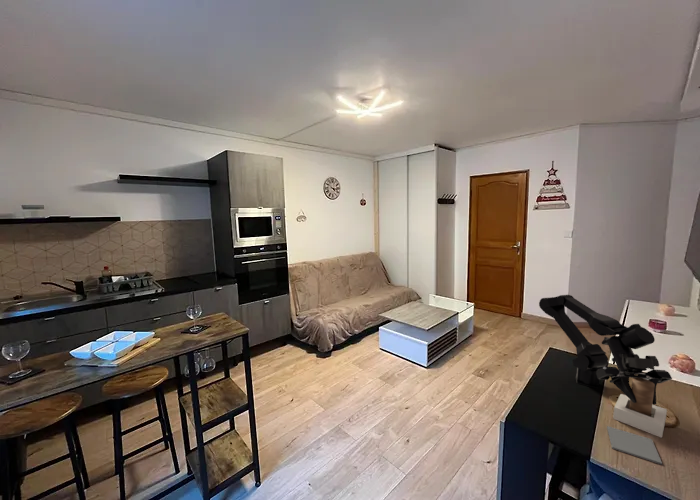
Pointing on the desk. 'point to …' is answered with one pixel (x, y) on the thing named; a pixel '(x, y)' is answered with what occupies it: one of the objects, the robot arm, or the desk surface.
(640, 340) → the robot arm
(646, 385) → the peg
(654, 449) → the pad
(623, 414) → the frame
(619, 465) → the desk surface
